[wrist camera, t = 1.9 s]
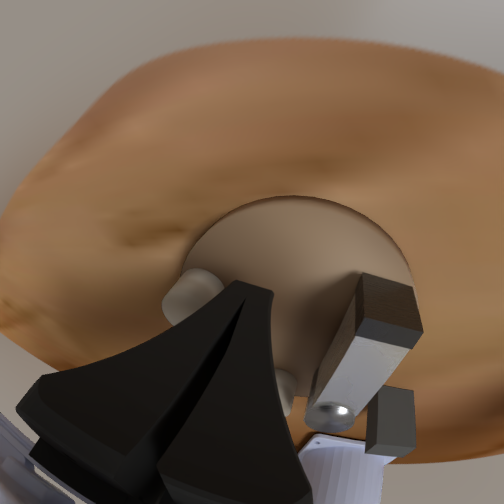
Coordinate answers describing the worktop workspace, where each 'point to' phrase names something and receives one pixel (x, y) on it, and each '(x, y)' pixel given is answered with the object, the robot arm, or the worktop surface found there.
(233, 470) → the robot arm
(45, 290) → the worktop surface
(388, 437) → the block
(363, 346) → the hinged leg
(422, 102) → the worktop surface
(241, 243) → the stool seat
